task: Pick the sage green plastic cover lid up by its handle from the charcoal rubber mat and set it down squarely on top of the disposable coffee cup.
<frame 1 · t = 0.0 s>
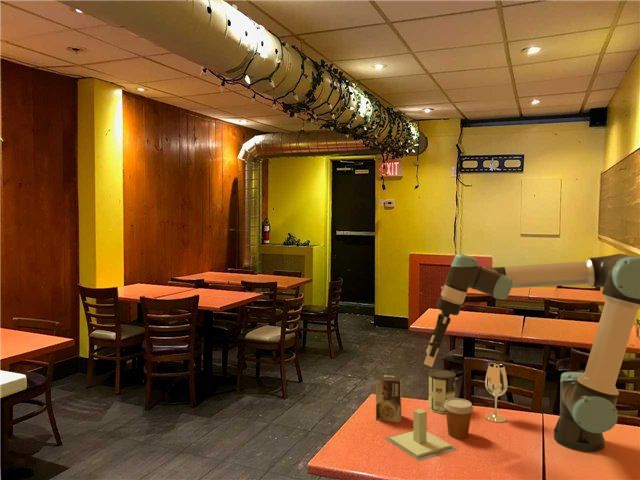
hand: (428, 359, 166), 28 cm above the table, tool tilted 20°, fingers open, 13 cm apart
disposable coffee cup: (457, 437, 170), on the table
coffee can: (441, 409, 196), on the table
coffee box: (388, 420, 184), on the table
rubber mat: (419, 446, 163), on the table
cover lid: (419, 443, 163), point 1 cm above the table, touching rubber mat
wineglass: (495, 419, 186), on the table
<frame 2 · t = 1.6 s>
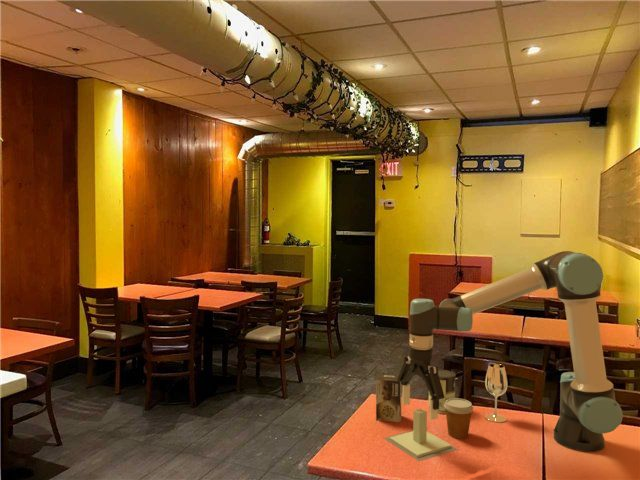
hand: (419, 411, 163), 12 cm above the table, tool pointing down, fingers open, 13 cm apart
nothing on the table moved.
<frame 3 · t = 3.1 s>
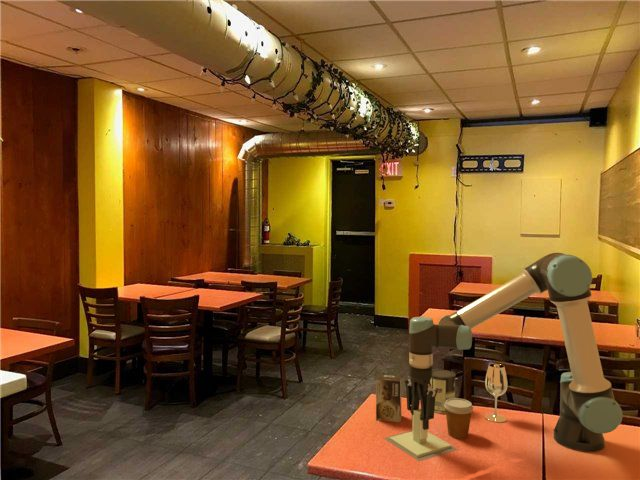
hand: (419, 435, 163), 4 cm above the table, tool pointing down, fingers closed on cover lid, 3 cm apart
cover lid: (419, 443, 163), point 1 cm above the table, touching gripper, rubber mat
everything else where it was.
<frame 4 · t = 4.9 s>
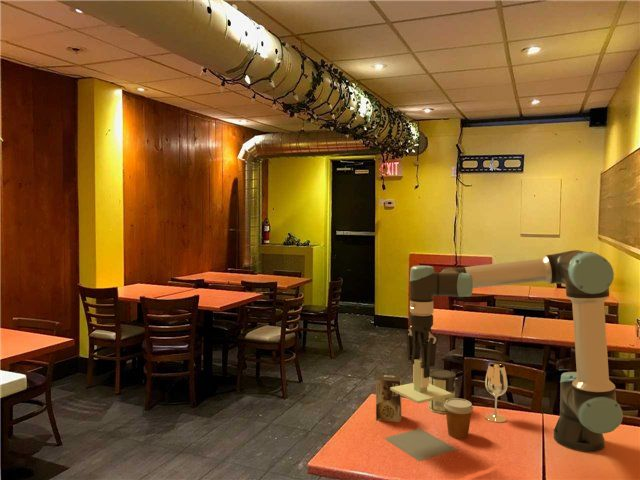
hand: (420, 385, 162), 20 cm above the table, tool pointing down, fingers closed on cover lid, 3 cm apart
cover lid: (420, 392, 162), point 18 cm above the table, touching gripper
everything else where it was.
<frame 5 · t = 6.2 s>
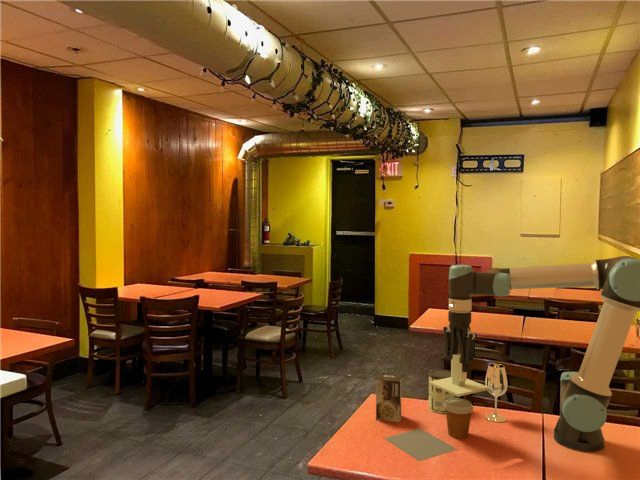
hand: (458, 379, 169), 20 cm above the table, tool pointing down, fingers closed on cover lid, 3 cm apart
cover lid: (458, 386, 169), point 18 cm above the table, touching gripper
everything else where it was.
when the fingers open (16 cm above the table, at t = 7.1 s): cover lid drops 2 cm, resting on disposable coffee cup.
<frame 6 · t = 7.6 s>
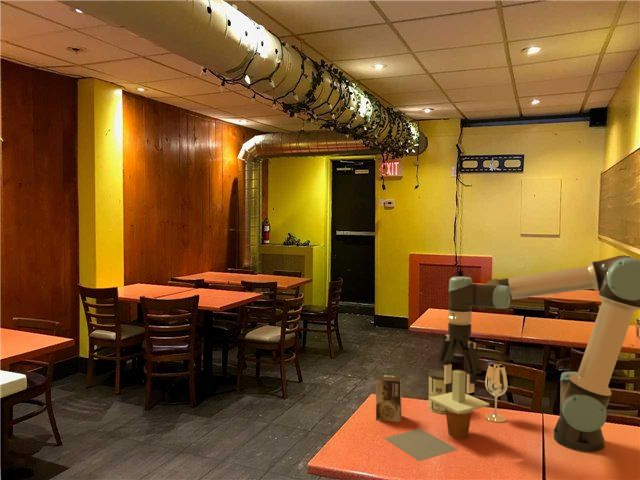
hand: (458, 387, 169), 17 cm above the table, tool pointing down, fingers open, 10 cm apart
disposable coffee cup: (457, 437, 170), on the table, touching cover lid
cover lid: (458, 402, 170), point 12 cm above the table, touching disposable coffee cup
everything else where it was.
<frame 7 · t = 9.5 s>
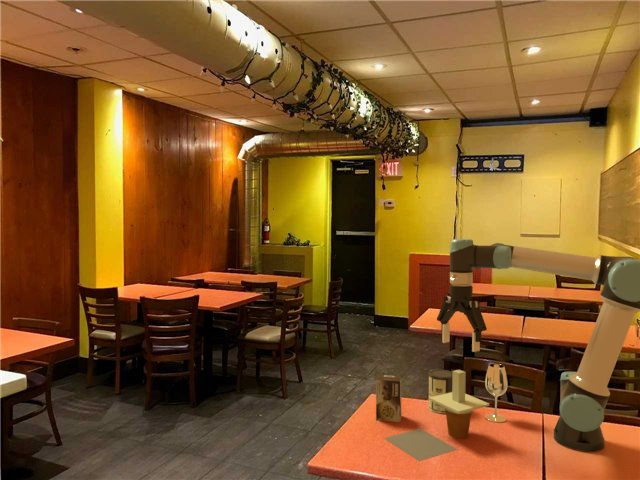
hand: (460, 346, 170), 31 cm above the table, tool pointing down, fingers open, 13 cm apart
nothing on the table moved.
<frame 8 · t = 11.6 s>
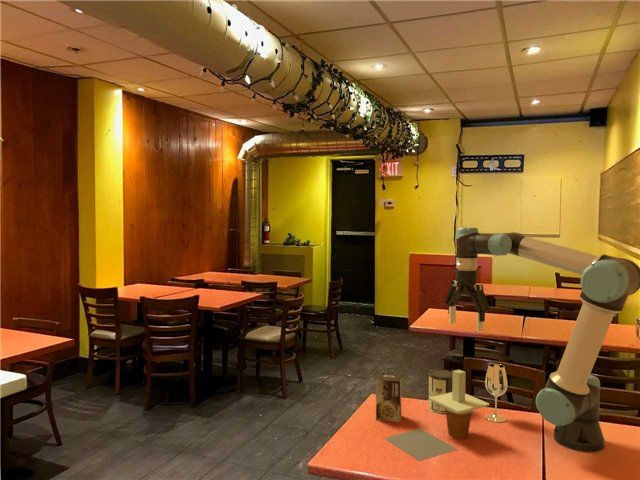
hand: (465, 326, 184), 35 cm above the table, tool pointing down, fingers open, 13 cm apart
nothing on the table moved.
at the end: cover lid 0.0 cm off-centre on the disposable coffee cup, point 12.2 cm above the disposable coffee cup's base; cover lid tilted 0°; disposable coffee cup tilted 0° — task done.
